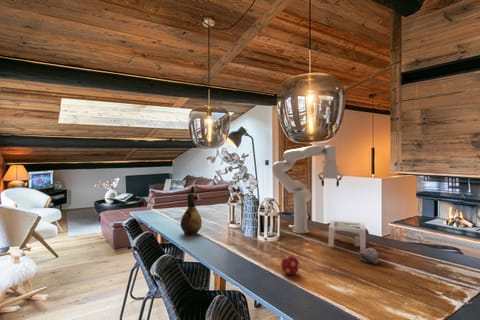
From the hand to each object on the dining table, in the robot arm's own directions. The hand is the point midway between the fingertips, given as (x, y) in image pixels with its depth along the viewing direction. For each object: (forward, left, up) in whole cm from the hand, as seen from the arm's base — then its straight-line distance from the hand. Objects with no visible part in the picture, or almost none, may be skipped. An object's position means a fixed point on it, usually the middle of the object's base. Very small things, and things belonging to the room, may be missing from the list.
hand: (330, 186), depth 200 cm
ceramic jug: (-96, -33, -36) cm, 108 cm away
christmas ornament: (-13, -76, -36) cm, 85 cm away
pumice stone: (+23, -43, -37) cm, 61 cm away
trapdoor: (+11, -14, -26) cm, 32 cm away
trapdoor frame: (+12, -14, -36) cm, 41 cm away
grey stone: (+17, -14, -34) cm, 40 cm away
